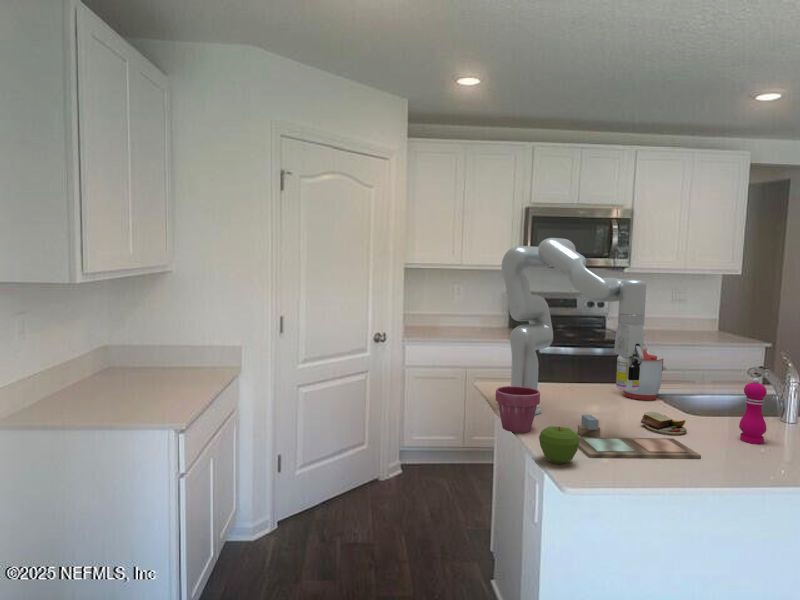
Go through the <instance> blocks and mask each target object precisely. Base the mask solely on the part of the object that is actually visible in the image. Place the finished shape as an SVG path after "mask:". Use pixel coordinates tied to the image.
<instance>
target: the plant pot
mask: <svg viewBox="0 0 800 600" xmlns="http://www.w3.org/2000/svg"><path fill="white" fill-rule="evenodd" d="M495 401H496V403H497V402H498V404H497V405H498V411H499V417H500V421H501V426H502V429H503V430H505V431H507V432H509V433H510V432H511V433H515V434H522V433H523V434H524V433H525V434H526V433H529V432H531V430H532V426H533V422H534V419H535V416H536V415H535V411H536V407H537V406H538V405H539V404H540V403H541V392H540V391H539V389H538V390H536V389H533V388H528V387H520V386H511V385H505V386H499V387H497V388H496V389H495Z"/></svg>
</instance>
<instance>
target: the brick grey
mask: <svg viewBox="0 0 800 600" xmlns="http://www.w3.org/2000/svg"><path fill="white" fill-rule="evenodd" d="M599 422H600V421H599V419H597V417H595V416H593V415H592V414H581V424H580V425H583V426H585V427H586V428H587V429H589V430H598V427H599Z"/></svg>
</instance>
